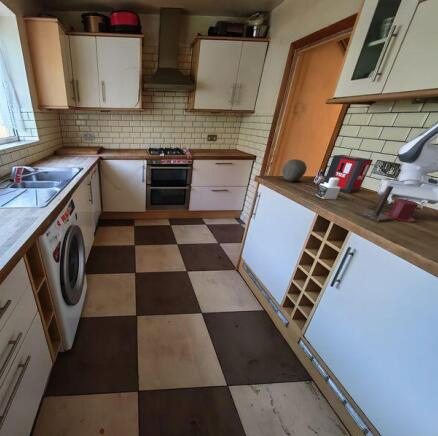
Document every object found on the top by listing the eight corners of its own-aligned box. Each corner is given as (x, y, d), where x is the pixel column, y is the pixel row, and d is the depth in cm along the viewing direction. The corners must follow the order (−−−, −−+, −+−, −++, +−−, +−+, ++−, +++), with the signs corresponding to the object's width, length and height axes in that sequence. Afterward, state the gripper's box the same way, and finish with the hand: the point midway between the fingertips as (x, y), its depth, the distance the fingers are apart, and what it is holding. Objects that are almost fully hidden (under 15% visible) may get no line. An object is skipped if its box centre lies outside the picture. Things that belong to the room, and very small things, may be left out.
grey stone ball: (301, 185, 153) (309, 162, 146) (278, 181, 160) (284, 159, 153) (302, 180, 164) (309, 159, 157) (280, 177, 170) (286, 156, 164)
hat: (420, 221, 105) (430, 205, 101) (403, 222, 103) (413, 206, 99) (394, 212, 114) (402, 197, 110) (378, 213, 112) (386, 198, 108)
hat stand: (393, 220, 104) (410, 189, 98) (378, 222, 103) (394, 190, 96) (371, 212, 112) (386, 183, 106) (357, 213, 111) (371, 183, 104)
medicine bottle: (315, 195, 135) (322, 175, 130) (327, 195, 135) (335, 175, 129) (323, 199, 128) (331, 178, 123) (335, 199, 128) (344, 179, 123)
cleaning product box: (358, 191, 143) (373, 159, 134) (349, 193, 140) (364, 160, 131) (330, 184, 157) (342, 154, 148) (322, 185, 153) (333, 155, 145)
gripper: (384, 174, 112) (377, 197, 109) (446, 182, 101) (440, 209, 98) (379, 180, 117) (372, 203, 114) (437, 189, 106) (431, 215, 103)
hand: (404, 206), depth 106 cm, fingers open, 8 cm apart
